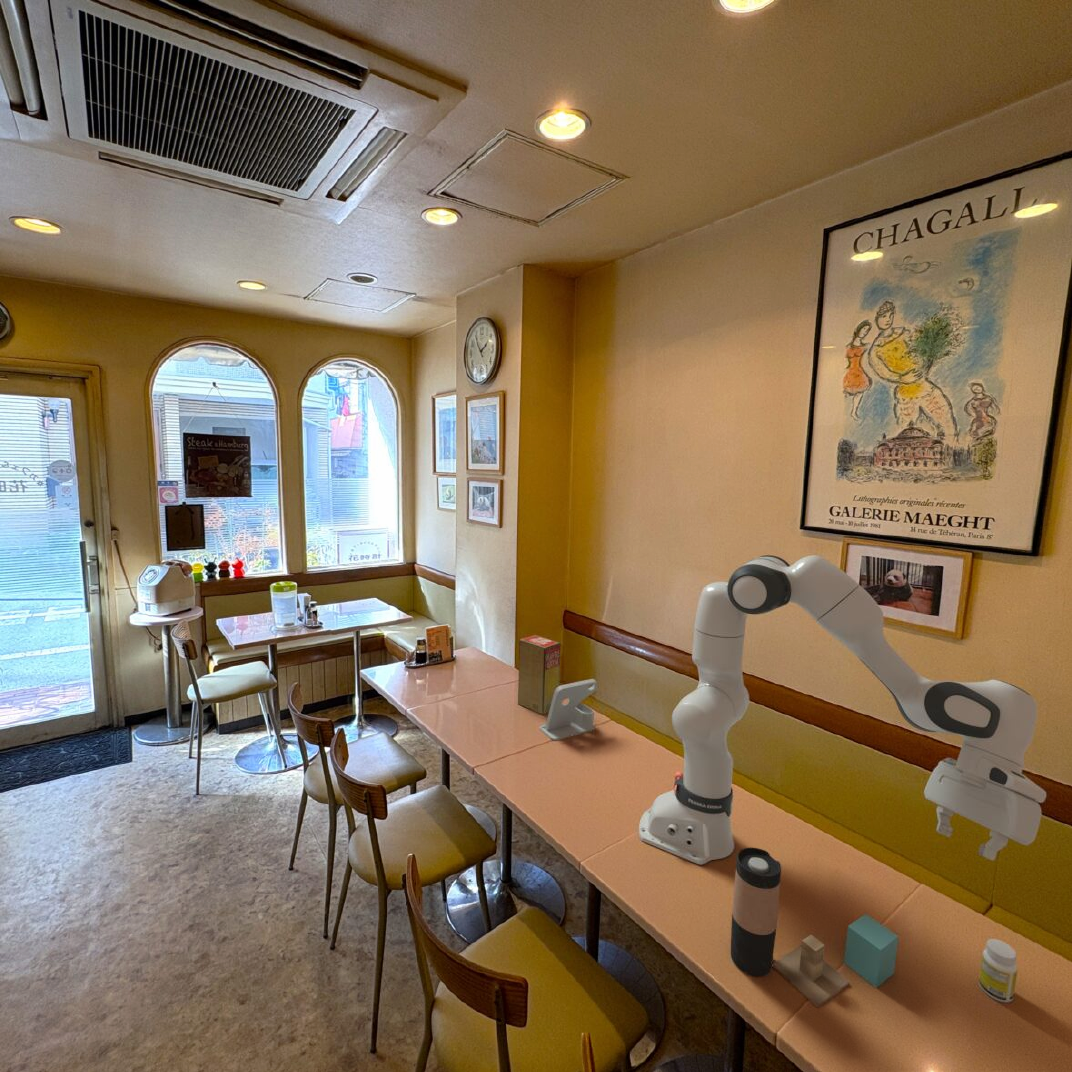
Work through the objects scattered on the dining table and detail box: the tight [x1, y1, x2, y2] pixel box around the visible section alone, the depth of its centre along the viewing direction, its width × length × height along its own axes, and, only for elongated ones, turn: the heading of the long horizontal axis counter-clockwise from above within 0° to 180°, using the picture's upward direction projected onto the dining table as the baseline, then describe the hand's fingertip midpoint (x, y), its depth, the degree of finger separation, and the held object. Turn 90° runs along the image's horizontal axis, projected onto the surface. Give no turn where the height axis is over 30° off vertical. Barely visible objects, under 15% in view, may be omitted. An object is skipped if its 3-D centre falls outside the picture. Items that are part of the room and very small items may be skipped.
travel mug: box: [730, 847, 782, 978], centre depth 103 cm, size 8×8×20 cm
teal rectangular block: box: [843, 913, 899, 989], centre depth 103 cm, size 6×6×8 cm
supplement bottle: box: [978, 938, 1018, 1003], centre depth 99 cm, size 5×5×8 cm
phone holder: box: [539, 678, 599, 741], centre depth 191 cm, size 17×10×18 cm, turn 120°
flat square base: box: [771, 934, 850, 1008], centre depth 101 cm, size 9×9×6 cm
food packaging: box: [517, 634, 562, 716], centre depth 208 cm, size 13×9×25 cm
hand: (963, 845), depth 101 cm, fingers open, 8 cm apart
